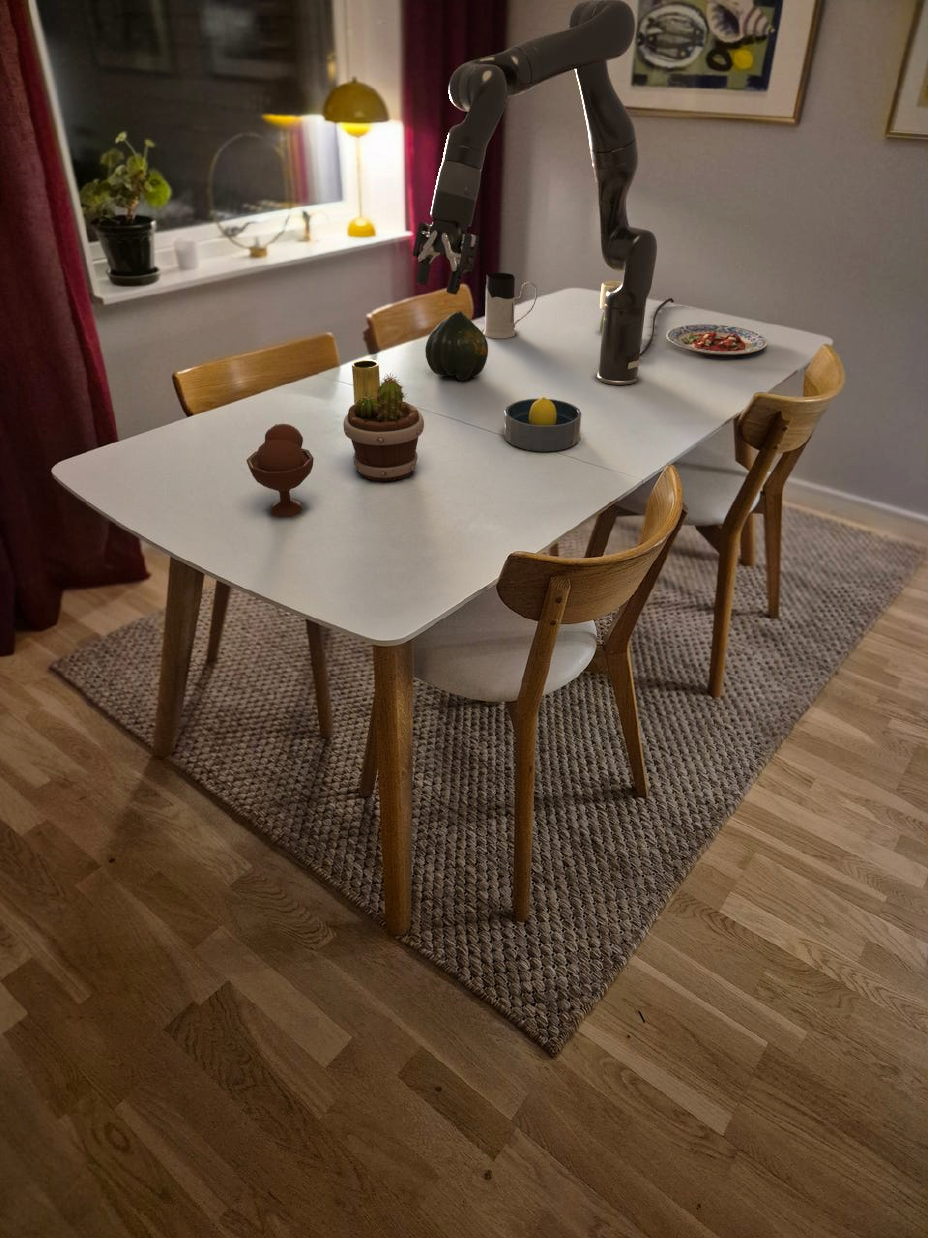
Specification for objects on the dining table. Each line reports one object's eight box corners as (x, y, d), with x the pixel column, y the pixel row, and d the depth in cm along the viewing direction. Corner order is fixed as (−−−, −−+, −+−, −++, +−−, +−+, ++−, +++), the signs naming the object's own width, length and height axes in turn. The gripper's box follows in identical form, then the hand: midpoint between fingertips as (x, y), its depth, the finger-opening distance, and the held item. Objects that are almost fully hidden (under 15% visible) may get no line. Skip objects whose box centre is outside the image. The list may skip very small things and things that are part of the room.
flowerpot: (336, 462, 161) (326, 358, 150) (411, 450, 166) (407, 348, 155) (358, 493, 150) (350, 384, 139) (438, 479, 155) (436, 372, 144)
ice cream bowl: (257, 496, 149) (245, 415, 141) (320, 494, 150) (312, 414, 142) (250, 525, 141) (236, 441, 132) (317, 522, 141) (308, 439, 133)
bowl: (511, 420, 179) (512, 395, 176) (583, 427, 176) (585, 401, 173) (497, 449, 167) (498, 422, 164) (573, 456, 164) (576, 429, 161)
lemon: (553, 441, 168) (556, 403, 164) (526, 439, 169) (528, 401, 165) (556, 431, 173) (559, 393, 168) (530, 429, 174) (531, 391, 169)
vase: (389, 428, 175) (385, 360, 167) (377, 439, 170) (372, 370, 162) (362, 425, 177) (357, 357, 169) (349, 435, 172) (344, 366, 164)
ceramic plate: (777, 341, 225) (780, 330, 223) (748, 368, 207) (751, 356, 205) (685, 326, 236) (687, 315, 235) (650, 350, 219) (652, 339, 217)
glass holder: (485, 328, 235) (486, 271, 226) (536, 330, 233) (539, 273, 225) (481, 337, 228) (482, 279, 219) (533, 339, 226) (536, 281, 218)
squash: (445, 368, 190) (477, 309, 189) (404, 355, 199) (435, 299, 199) (480, 398, 201) (511, 342, 200) (440, 384, 210) (469, 331, 210)
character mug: (613, 340, 226) (618, 290, 218) (589, 336, 229) (593, 286, 222) (630, 330, 233) (636, 281, 226) (607, 326, 236) (612, 278, 229)
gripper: (498, 204, 147) (476, 300, 154) (444, 193, 156) (426, 284, 162) (468, 193, 142) (446, 293, 148) (414, 183, 151) (396, 278, 157)
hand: (436, 288), depth 155 cm, fingers open, 8 cm apart
